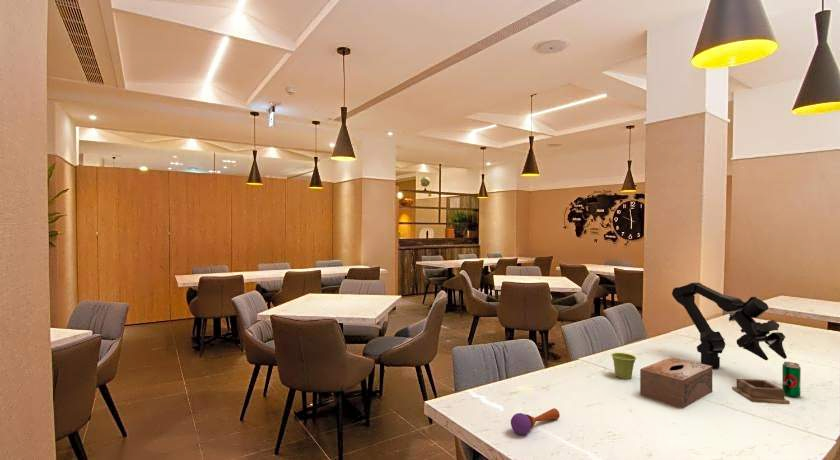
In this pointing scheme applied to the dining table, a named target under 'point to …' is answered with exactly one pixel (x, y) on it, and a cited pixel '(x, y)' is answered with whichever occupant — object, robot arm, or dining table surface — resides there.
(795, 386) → the soda can
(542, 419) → the kendama
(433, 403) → the dining table surface
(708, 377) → the tissue box cover
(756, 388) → the socket block
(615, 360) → the plant pot
